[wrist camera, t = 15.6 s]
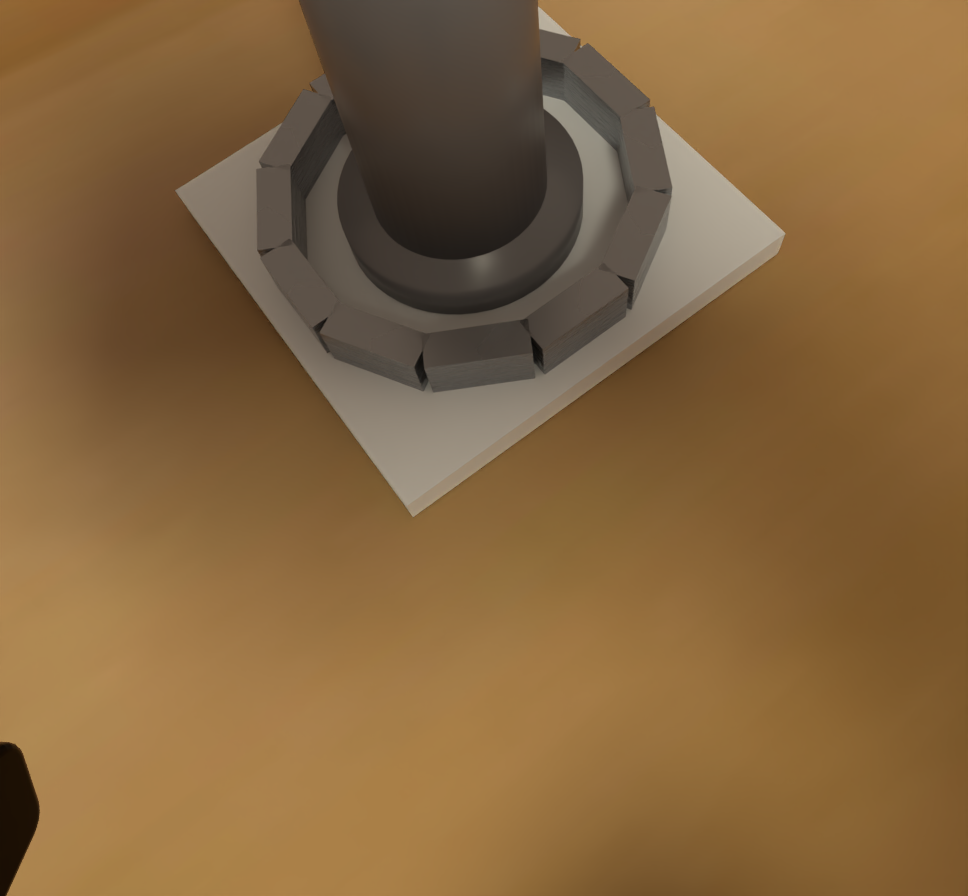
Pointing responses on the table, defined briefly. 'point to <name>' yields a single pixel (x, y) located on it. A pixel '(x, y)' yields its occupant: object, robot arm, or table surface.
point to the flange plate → (494, 333)
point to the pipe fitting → (448, 149)
